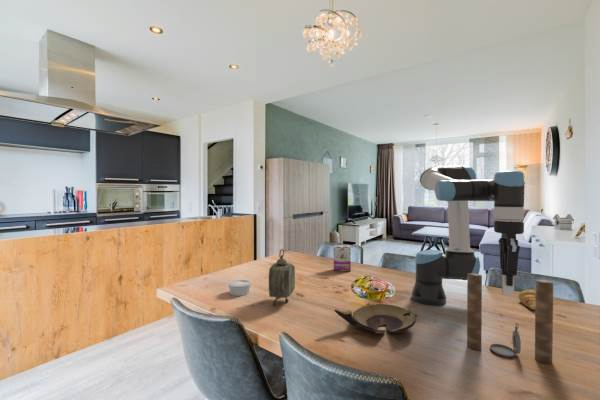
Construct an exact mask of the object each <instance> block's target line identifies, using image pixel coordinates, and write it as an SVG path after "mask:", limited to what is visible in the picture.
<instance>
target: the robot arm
mask: <svg viewBox="0 0 600 400" xmlns="http://www.w3.org/2000/svg"><path fill="white" fill-rule="evenodd" d="M419 182H420V185H421V187H422V188H424V189H426V190H428V191H433V192H434V195H435V199H436V200H438V201H439V202H441V201H442V202H447V213H448V215H447V216H448V219H447V220H448V247H447V248H445V253H443V252H442V250H439V249H425V250H421V251H418V252H417V253H416V254H415V261H414V263H415V282H414V285H413V287H412V290H411V298H412V300H413V301H415V302H418V303H420V304H424V305H429V306H443V305H445V304H446V303H447V295H446V292H445V290H444V287H443V280H460V281H461V280H462V281H467V277H468V273H474V274H479V275H480V272H481V271H480V270H481V262H480V258H479V256H478V255H476V254H475V251H474V250H473V248H471V238H470V235H471V234H470V233H471V232H470V216H469V215H470V213H469V211H470V210H469V202H493V203H494V204H493V205H494V206H493V219H495V220H494V221H493V231H494V232H495V233H496V234H497V233H498V234H501V236H500V237H499V239H498V245H499V261H500V263H499V264H500V266H499V269H500V270H501V277H502V284H501V287H502V288H501V289H502V290H501V291H502V295H503V296H509V297H515V276H517V275H518V264H519V255H520V254H519V253H520V249H521V246H520V245H519V241H518V239H517V235H523V234H524V232H525V223H524V222H523V220H524V219H525V214H526V213H527V210H525V184H526V182H525V173H524V172H523V171H521V170H504V171H502V170H501V171H496V172H495V173H494V177H493V179H477V175H476V172H475V169H474V168H473V167H471V166H470V165H447V166H446V165H442V166H441V165H437V166H433V167H430V168H427V169H425V170H424V171H423V172H422V173H421V174H420V178H419Z"/></svg>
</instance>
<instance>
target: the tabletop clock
mask: <svg viewBox="0 0 600 400" xmlns="http://www.w3.org/2000/svg"><path fill="white" fill-rule="evenodd" d="M278 255H279V256H278V257H279V259H277V260H276V262H273V264H272V265H270V267H269V269H268V295H269V297H270V298H275V299H274V301H273V302H272V303H271V306H273V307H274V306H276V302H277V300H278V299H279V298H282V299H285V300H284V302H285V303H288V302H289V299H288V297H290V296H292V294H293V293H294V292H295V291H294V290H295V287H296V284H295V283H296V272H295V271H296V267H295V266H296V265H295V264H292V263H291V262H288V261H287V260H286V259H285V258H284V256H285V251H284V248H281V249H280V251H279V253H278Z"/></svg>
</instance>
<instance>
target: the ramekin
mask: <svg viewBox="0 0 600 400" xmlns="http://www.w3.org/2000/svg"><path fill="white" fill-rule="evenodd" d="M251 286H252V282H251V281H250V280H246V279H237V280H232V281H230V282H229V283H228V288H229V293H230V294H231V296H234V297H242V296H246V295H248V294H249V293H250V289H251Z"/></svg>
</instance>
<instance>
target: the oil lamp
mask: <svg viewBox="0 0 600 400" xmlns="http://www.w3.org/2000/svg"><path fill="white" fill-rule="evenodd" d="M334 312H335V313H336V314H337V315H338V316H339V317H340V318H342V319H343V320H344V321H346V322H347V323H348V324H349V325H351V326H353V327H360V328H363V329H364V330H366V331H367V330H368V331H371V332H374V333H380V334H385V333H386V332H388V333H389V334H390V333H391V334H395V333H396V334H397V333H401V332H404V331H407V330H409V329H411V328H412V327H413V326H414V325H415V324H416V322H417V317H418V314H415V313H414V312H413V311H412V310H410V309H406V308H404V307H401V306H398V305H392V304H386V303H385V304H384V303H376V304H368V305H364V306H361V307H359V308H357V309H355V311H353V312H352V310H351V309H349V310H345V311H342V310H339V309H334ZM385 326H386V327H385ZM379 327H385V329H386V330H385V329H378V328H379Z"/></svg>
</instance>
